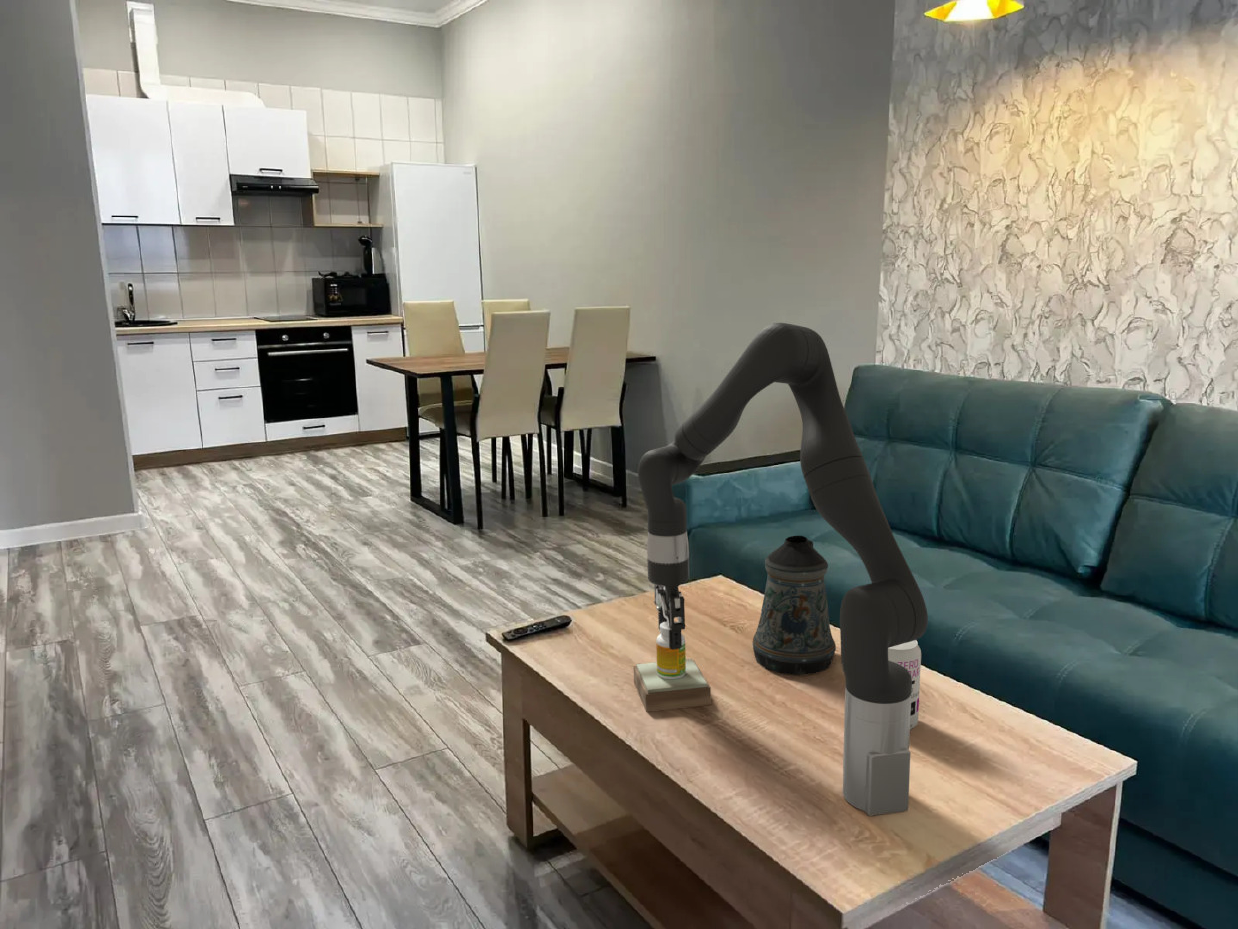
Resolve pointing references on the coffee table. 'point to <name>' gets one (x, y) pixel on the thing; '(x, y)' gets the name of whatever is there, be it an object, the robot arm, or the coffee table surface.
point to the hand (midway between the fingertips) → (669, 639)
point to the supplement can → (911, 660)
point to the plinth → (671, 688)
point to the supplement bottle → (669, 656)
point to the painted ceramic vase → (795, 612)
